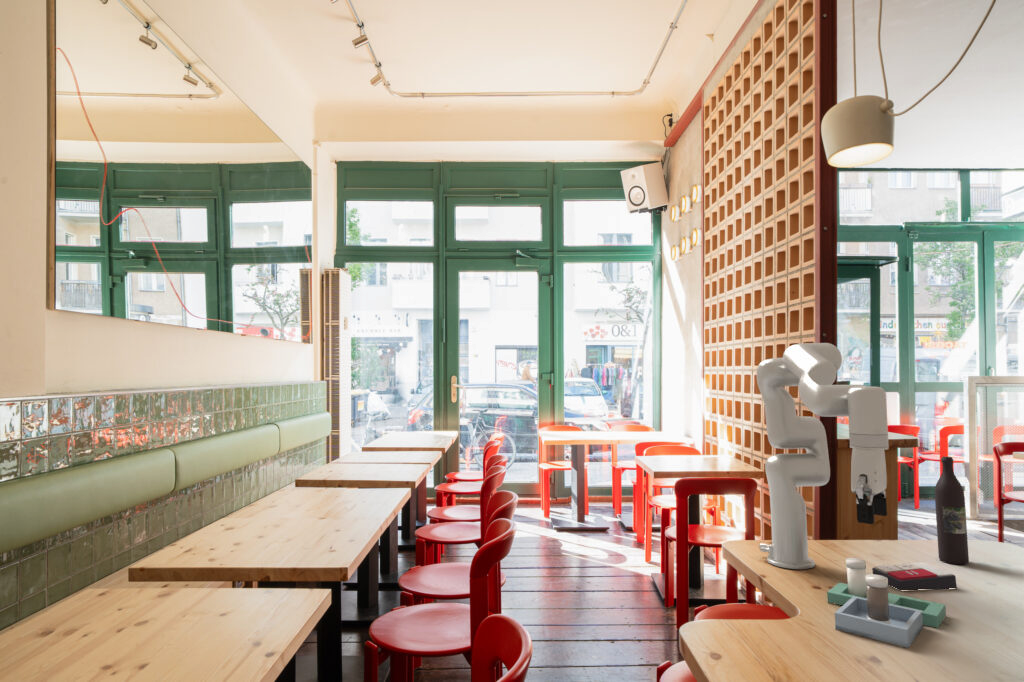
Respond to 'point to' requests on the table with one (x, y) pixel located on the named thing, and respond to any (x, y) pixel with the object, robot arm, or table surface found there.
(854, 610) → the parts tray
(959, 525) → the wine bottle
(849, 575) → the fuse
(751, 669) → the table surface
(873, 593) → the fuse
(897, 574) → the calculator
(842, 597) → the block
